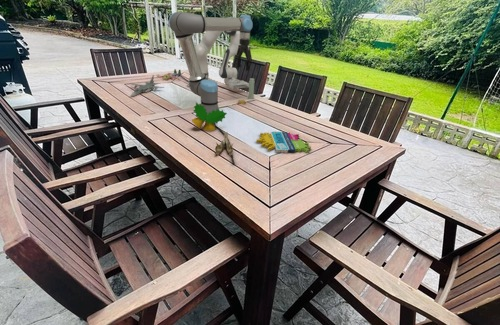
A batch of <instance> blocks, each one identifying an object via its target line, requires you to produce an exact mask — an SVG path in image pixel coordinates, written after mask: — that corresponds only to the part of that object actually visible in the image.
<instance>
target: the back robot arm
mask: <svg viewBox="0 0 500 325" xmlns="http://www.w3.org/2000/svg"><path fill="white" fill-rule="evenodd" d="M222 33H225V34H226V35H228V36H230V43H229V46H228V48H226V50H225V52H224V55H223V57H222V60H221V61H222V62H221V65H220V67H219V70H218V76H219V77H220V78H222V79H223V82H224V84H225V85H226V86H227V87H228V89H231V90H240V89H245V88H246V89H249V82H247V81H244V80H243V79H238V77H239V71H238V69H237V68H236V67H228V65H229V61H230V59H231V58H232V57H234V56H236V54H237V51H238V45H240V44H239V41H240V31H205V32H204V33H203V35H202V38H201V40H200V42H199V44H196V45H194V46H195V49H196V53H197V57H198V60H199V64H200V67H201V71H202V73H203V74H205V77H206V79H208V80H209V78H210V77H209V62H208V57H207V56H208V54H209V53H210V52H211V50H212V48H213V46H214V45H215V43H216V41H217V40H218V39H219V37H220V35H221V34H222ZM178 77H179V78H182V79H183V80H185V81H186V82H188V84H187V87H189V83H190V81H189V79H188V80H187V79H186V78H185V77H183V76H182V75H179V76H178Z"/></svg>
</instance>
